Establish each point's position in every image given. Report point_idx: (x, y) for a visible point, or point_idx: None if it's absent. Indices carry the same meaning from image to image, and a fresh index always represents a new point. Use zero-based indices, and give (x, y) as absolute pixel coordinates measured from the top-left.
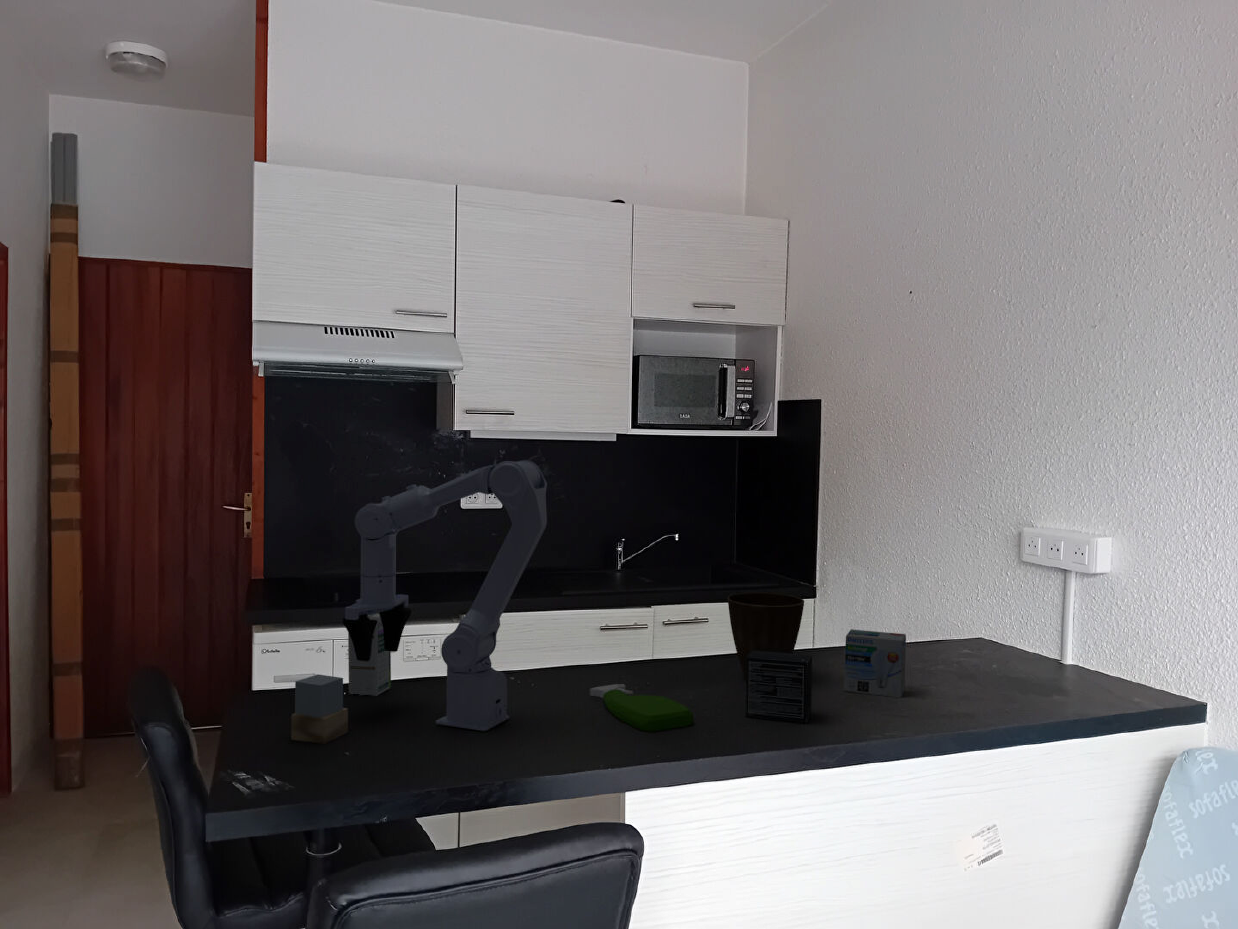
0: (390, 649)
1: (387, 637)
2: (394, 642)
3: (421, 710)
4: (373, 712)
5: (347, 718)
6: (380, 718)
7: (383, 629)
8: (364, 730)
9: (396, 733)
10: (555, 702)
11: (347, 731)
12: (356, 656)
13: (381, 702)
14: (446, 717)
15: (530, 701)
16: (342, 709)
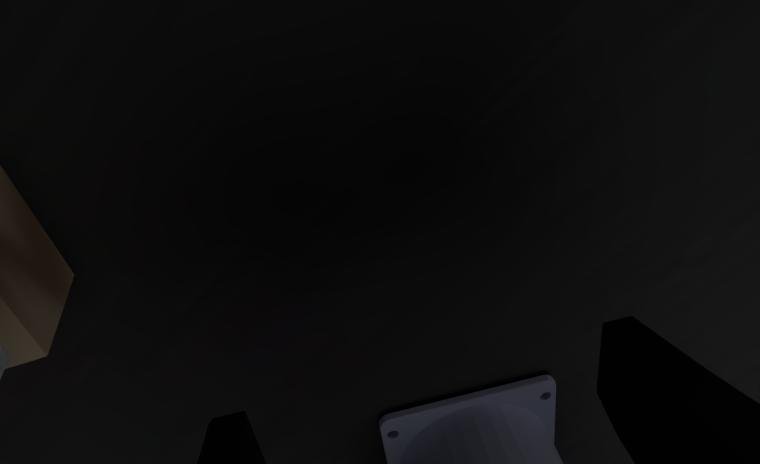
0: (608, 370)
1: (673, 427)
2: (639, 447)
3: (507, 259)
4: (369, 126)
5: (56, 319)
6: (317, 224)
7: (739, 457)
8: (149, 301)
9: (218, 399)
10: None
11: (70, 279)
12: (202, 448)
13: (536, 14)
14: (437, 418)
15: None
16: (5, 359)
